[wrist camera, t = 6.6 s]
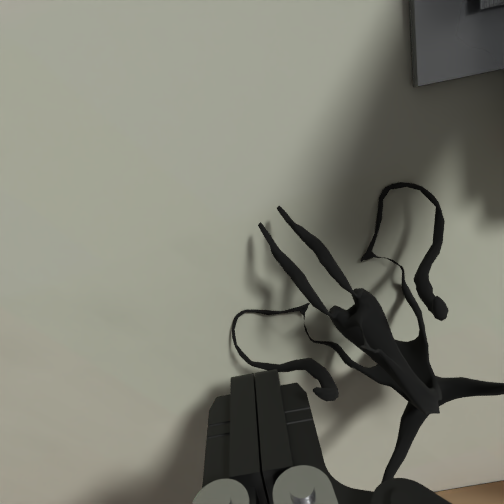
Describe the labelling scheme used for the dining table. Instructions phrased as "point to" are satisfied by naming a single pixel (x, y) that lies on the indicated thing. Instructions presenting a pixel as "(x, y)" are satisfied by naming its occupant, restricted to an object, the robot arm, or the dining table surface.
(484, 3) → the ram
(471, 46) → the base
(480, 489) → the wooden l-shaped sticks
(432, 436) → the dining table surface
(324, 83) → the dining table surface
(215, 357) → the dining table surface
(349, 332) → the creature
